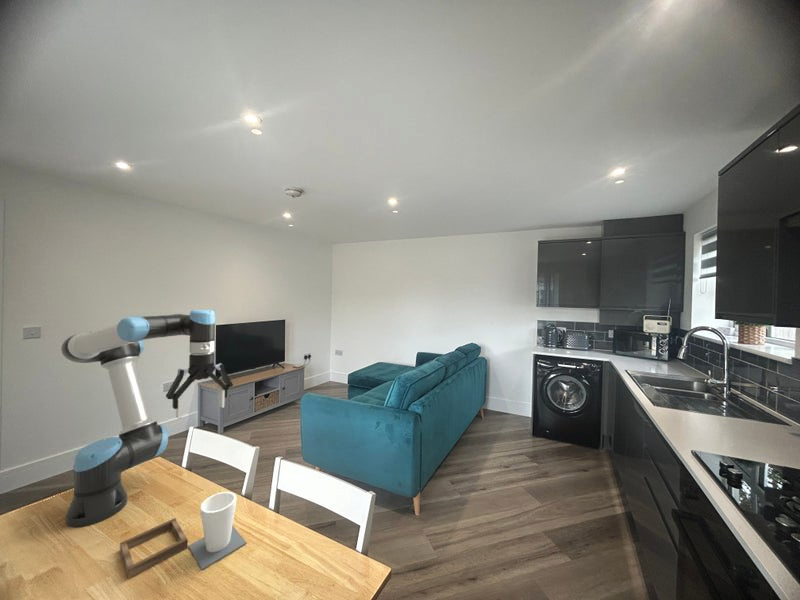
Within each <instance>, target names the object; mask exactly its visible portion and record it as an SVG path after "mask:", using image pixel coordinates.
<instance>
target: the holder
mask: <svg viewBox="0 0 800 600" xmlns="http://www.w3.org/2000/svg"><path fill="white" fill-rule="evenodd" d="M169 531H172V533H173V535H174V537H175V538H176V540H177V542H174V543H173V544H170V545H169V546H167V547H165V548H162V549H161V550H159V551H157V552H154V553H153V554H151V555H149V556H148V557H145V558H144V559H141V560H140V561H139V560H138V561H137V562H136V563H134V561H133V558H132V554H131V552H130V550H131V549H133V548H136V547H138V546H140V545H142V544H143V543H146V542H148V541H150V540H152V539H153V538H156V537H159V536H160V535H162V534H165V533H167V532H169ZM188 542H189V541H188V538H187V536H186V534H185V533H184V531H183V530H182V527H181V526H180V524H179V522H178V521H177V518H175V517H174V518H172V519H170V520H168V521H165V522H163V523H161V524H159V525H157V526H156V525H155V526H154V527H152V528H150V529H148V530H146V531H143V532H141V533H139V534H136V535H134V536H133V537H131V538H128V539H126V540H124V541H121V542H119V543H120V547H119V548H120V550H119V551H120V555H121V558H122V562H123V566H124V568H125V572H126V574H127V575H126V576H127V578H128V580H130V579H131V578H133V577H135V576H137V575H139V574H141V573H143V572H145V571H146V570H148V569H150V568H153V567H154V566H156V565H158V564H159V563H162V562H164V561H165V560H167V559H169V558H171V557H173V556H175V555H176V554H179V553H181V552H183V551H184V550H186V549H188V548H189V545H188Z"/></svg>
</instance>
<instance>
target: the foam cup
mask: <svg viewBox="0 0 800 600" xmlns="http://www.w3.org/2000/svg"><path fill="white" fill-rule="evenodd" d="M236 507H237V495H236V493H234V492H232V491H222V492H218V493H215V494H213V495H211V496H208V497H207V498H206V499H205V500H204V501H202V503H201V504H200V507H199V508H200V509H199V510H200V513H199V514H200V518H201V522H202V529H203V536H204V537H205V544H206V549H207V551H209V552H217V551H220V550H222V549H223V548H225V547H226V546H227V545H228V544H229V542H230V538H231V531H232V525H233V524H234V518H235V511H236ZM233 526H234V525H233ZM204 537H203V538H204Z"/></svg>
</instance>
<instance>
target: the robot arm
mask: <svg viewBox="0 0 800 600" xmlns="http://www.w3.org/2000/svg"><path fill="white" fill-rule="evenodd" d="M215 315H216V314H215V311H214V310H211V309H193V310H190V312H189V314H182V313H173V314H169V315H166V314H165V315H154V316H153V315H148V316H146V315H144V316H138V315H136V316H131V317H123V318H121V319H120V321H119V322H118V323H117V324H114V325H111V326H107V327H105V328H102V329H98V330H95V331H89V332H88V331H86V332H79V333H76V334H73V335H70V336H69V337H67V338H66V339H65V340H64V341H63V343H62V344H61V349H60V351H61V354H62V355H63V357H64V358H65V359H67V360H69V361H71V362H74V363H79V364H87V363H89V364H90V363H91V364H92V363H97V362H99V363H100V366H101V368H103V369H106V370H107V371H108V375H109V380H110V384H111V387H112V391H113V395H114V399H115V405H116V406H117V411H118V416H119V420H120V424H121V427H122V428H121V430H120V432H119V433H118V436H115V437H114V436H112V437H106V438H102V439H98V440H95V441H93V442H92V443H89V444H87V445H86V446H84V447H82V448H81V449H80V450H79V451H78V452H77V453H76V454H75V457H74V462H73V498H72V500H71V503H70V505H69V507H68V510H67V512H66V514H65V523H66V525H67V526H69V527H73V528H79V527H80V528H81V527H85V526H90V525H94V524H97V523H100V522H101V521H105V520H107V519H109V518H110V517H112V516H114V515H116V514H118V512H120V511H122V509H123V508H125V506H126V505H127V503H128V494H127V491H126V490H125V487H124V485H123V484H122V473H123V472H125V471H127V470H130V469H132V468H134V467H137V466H138V465H141V464H143V463H145V462H148V461H150V460H152V459H154V458H155V457H157V456H159V455H161V454H162V453H163V452H164V451H165V450H166V448H167V446H168V443H169V433H168V430H167V428H166V427H165V426H164V425H163V424H158V422H157V420H156V419H154V418H153V419H152V418H151V413H150V410H149V406H148V403H147V399H146V396H145V395H146V394H145V391H144V387H143V385H142V381H141V377H140V373H139V370H138V369H139V368H138V364H137V362H138V361H139V359H140V355H141V354H142V353H143V351H144V347H145V344H144V341H145V340H150V339H156V338H167V337H176V336H189V349H188V350H189V356H188V357H189V360H188V362H189V363H188V364H189V365H188V368H187V369H182V368H178V370H177V375H176V377H175V379H174V380H173V382H172V383H171V386H170V388H169V389H168V391H167V393H165V398H166V399H168V400H172V405H171V406H172V408H173V409H174V410H175V417H176V418H177V420H179V419H181V418H182V398H180V397H181V396H183V394H184V393H185V391H187V389H188V388H189V387H190V386H191V385H192V383H194V382H195V381H196V380H197V381H200V380H206V379H208V378H211V380H213V381H214V382H215V383H216V384H217V385H219V387H221V388H219V407H220V408H222V409H224V408H225V402H226V401H225V398H226V399H227V397H228V391H229V388H231V387H234V383H233V382H232V380H231V379H230V377H229V375H228V373H227V372H226V370H225V365H224V364H223V363H221V362H220V363H218V364H215V353H214V352H215V337H216V336H215V335H216V334H215V332H216V329H215V328H216V316H215ZM215 370H218V371H219V374H220V375H221V377H222V379H223V380H224V382H225V383H224V382H223V381H222V380H221V379H220V378H219V377H217V375H215V374H214V372H215ZM187 374H189V376H188V377H187V378H186V380H185V381H184V382H183V383H182V381H183V378H184V376H186V375H187ZM181 383H182V384H181ZM180 384H181V386H180ZM178 387H179V388H178Z"/></svg>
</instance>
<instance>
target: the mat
mask: <svg viewBox="0 0 800 600" xmlns="http://www.w3.org/2000/svg"><path fill="white" fill-rule="evenodd" d="M246 544H247V541H246V539H244V538H243V536H242V535H241V534H240V533H239V531H238V530H237V529H236V528H235V526H234V525H232V531H231V538H230V542H229V544H228V545H227V546H226V547H225V548H223V549H222V550H220V551H217V552H209V551H207V549H206V544H205V537H202V538H200V539H198V540H196V541H194V542H192V543H191V544H189V545H188V548H189V550H190V552H191V553H192V556H193V557H194V559H195V561H196V563H197V564H198V566H199V568H200V570H201V571H204V570H206V569H207V568H208V567H210V566H212V565H214V564H215V563H217V562H218V561H220V560H222V559H224V558H226V557H227V556H228V555H230V554H232V553H234V552H235V551H237V550H238V549H240V548H242V547H243V546H245V545H246Z"/></svg>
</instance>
